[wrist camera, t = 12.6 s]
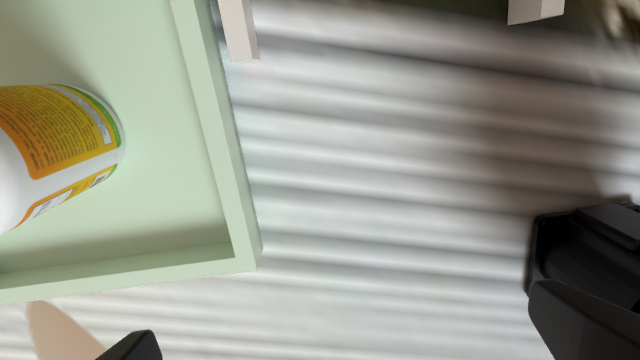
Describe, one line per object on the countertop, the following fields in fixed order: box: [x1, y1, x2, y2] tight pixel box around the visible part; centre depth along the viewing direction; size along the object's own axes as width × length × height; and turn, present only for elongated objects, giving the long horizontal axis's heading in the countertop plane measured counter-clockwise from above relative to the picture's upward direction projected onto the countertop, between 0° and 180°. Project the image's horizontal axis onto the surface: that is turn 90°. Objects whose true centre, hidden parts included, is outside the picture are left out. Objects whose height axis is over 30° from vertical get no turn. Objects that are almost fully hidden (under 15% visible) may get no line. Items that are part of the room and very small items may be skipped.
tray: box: [0, 0, 263, 305], centre depth 16 cm, size 17×17×2 cm
